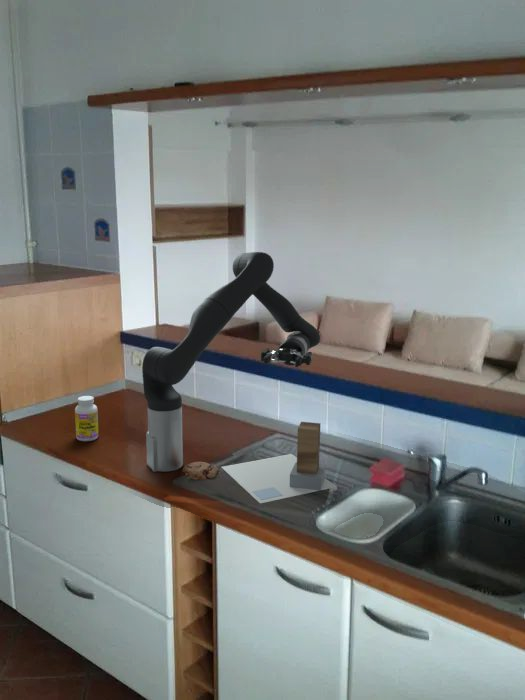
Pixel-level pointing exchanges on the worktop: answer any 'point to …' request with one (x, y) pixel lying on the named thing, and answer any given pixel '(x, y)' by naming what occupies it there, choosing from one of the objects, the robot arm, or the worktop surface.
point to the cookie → (200, 470)
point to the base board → (277, 478)
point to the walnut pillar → (308, 447)
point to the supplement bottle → (86, 419)
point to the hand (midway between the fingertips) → (281, 362)
